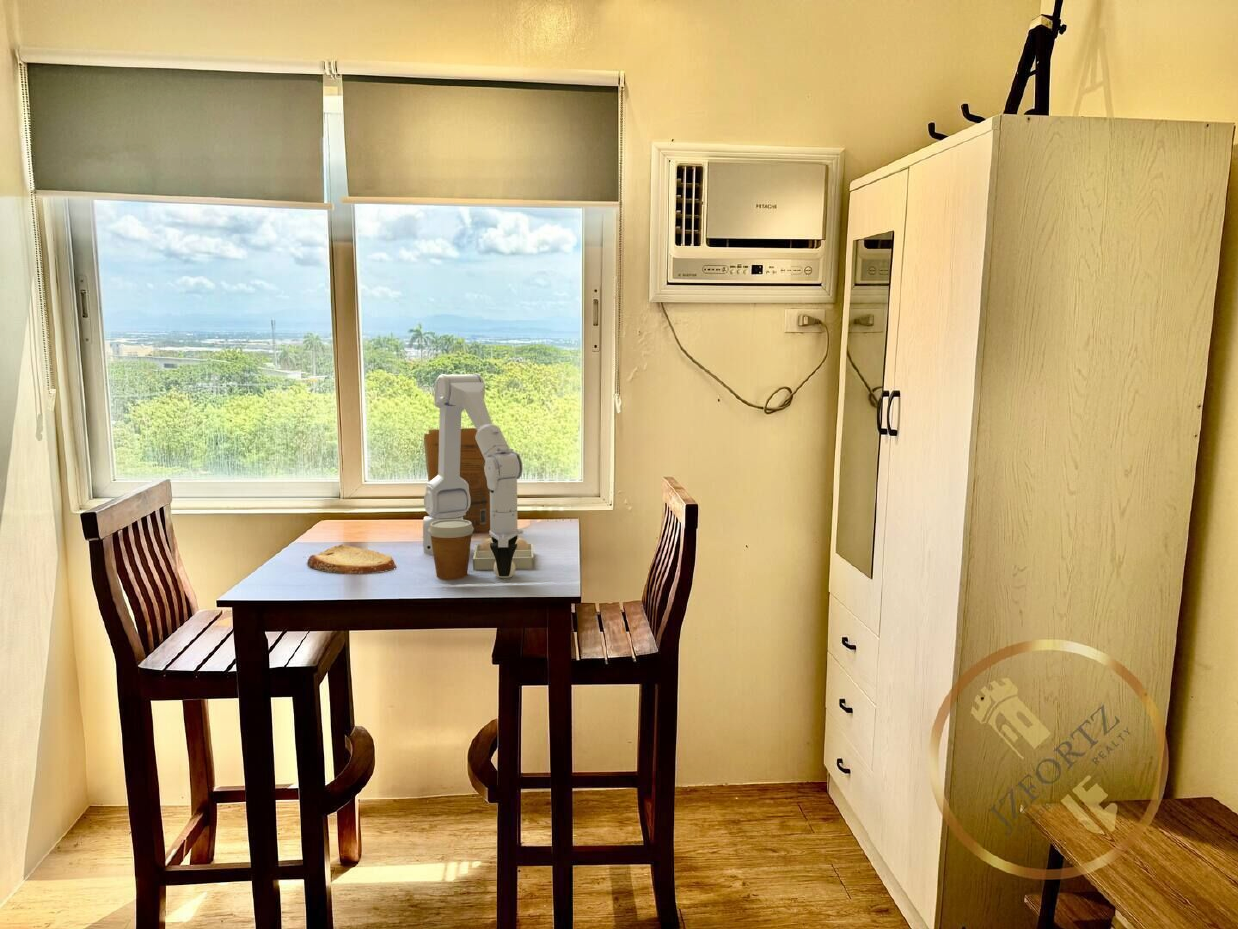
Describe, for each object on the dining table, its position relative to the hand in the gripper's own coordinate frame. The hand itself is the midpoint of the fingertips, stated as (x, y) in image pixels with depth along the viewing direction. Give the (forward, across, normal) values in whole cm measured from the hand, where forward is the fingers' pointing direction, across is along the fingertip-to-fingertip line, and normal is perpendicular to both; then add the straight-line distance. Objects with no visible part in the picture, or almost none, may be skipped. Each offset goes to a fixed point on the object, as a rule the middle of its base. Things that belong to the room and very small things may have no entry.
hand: (504, 572), depth 171 cm
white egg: (+1, 0, 0) cm, 1 cm away
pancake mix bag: (+2, +46, +12) cm, 48 cm away
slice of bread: (+2, +14, +35) cm, 38 cm away
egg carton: (+1, +12, 0) cm, 12 cm away
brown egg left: (+1, +16, +4) cm, 16 cm away
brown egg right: (+1, +16, -3) cm, 16 cm away
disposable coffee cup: (+2, +1, +11) cm, 11 cm away
